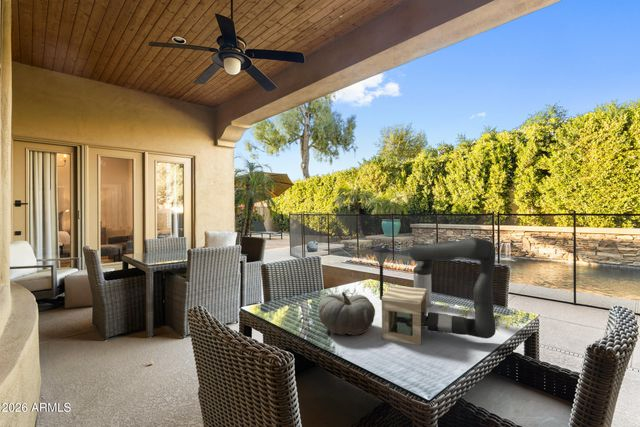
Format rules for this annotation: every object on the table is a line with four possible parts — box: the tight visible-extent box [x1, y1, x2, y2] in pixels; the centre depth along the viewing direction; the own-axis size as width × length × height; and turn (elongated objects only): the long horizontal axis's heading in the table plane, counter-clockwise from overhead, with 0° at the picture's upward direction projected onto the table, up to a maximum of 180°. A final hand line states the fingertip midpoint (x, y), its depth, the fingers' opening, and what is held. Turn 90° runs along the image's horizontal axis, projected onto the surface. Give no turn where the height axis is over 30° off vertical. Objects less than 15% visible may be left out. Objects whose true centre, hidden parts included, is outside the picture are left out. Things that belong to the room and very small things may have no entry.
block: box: [396, 312, 412, 335], centre depth 137 cm, size 5×5×10 cm
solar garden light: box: [370, 246, 392, 301], centre depth 185 cm, size 12×12×30 cm
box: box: [381, 285, 428, 346], centre depth 136 cm, size 20×15×17 cm
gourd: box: [318, 291, 376, 336], centre depth 141 cm, size 25×25×17 cm
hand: (398, 317), depth 138 cm, fingers closed on block, 5 cm apart
